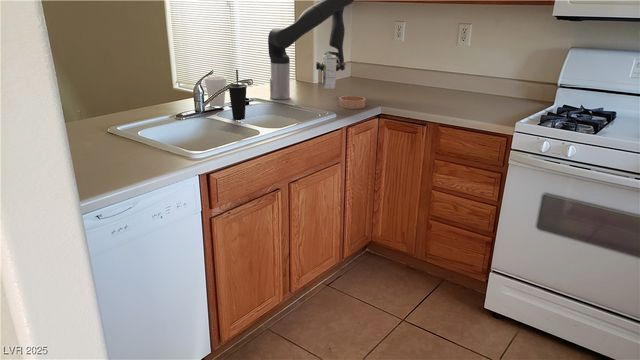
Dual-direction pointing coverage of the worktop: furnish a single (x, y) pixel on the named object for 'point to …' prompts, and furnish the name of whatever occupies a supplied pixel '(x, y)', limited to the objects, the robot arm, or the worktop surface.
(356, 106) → the terracotta bowl
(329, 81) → the syrup box
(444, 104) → the worktop surface
